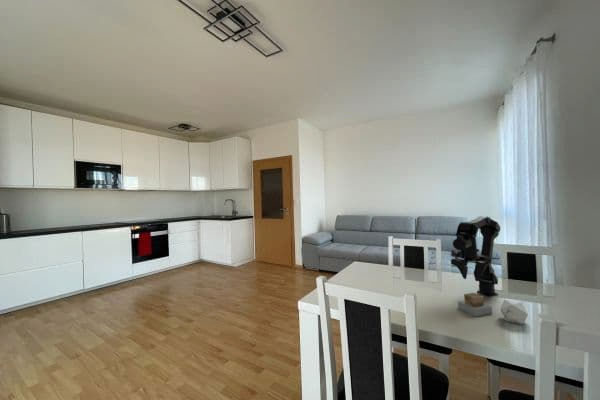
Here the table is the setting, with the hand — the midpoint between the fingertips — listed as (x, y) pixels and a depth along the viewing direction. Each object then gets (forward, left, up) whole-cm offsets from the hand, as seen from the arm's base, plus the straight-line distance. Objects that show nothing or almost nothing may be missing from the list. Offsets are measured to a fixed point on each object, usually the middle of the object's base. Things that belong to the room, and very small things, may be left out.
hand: (472, 277), depth 116 cm
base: (+8, +8, -12) cm, 16 cm away
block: (+8, +8, -9) cm, 14 cm away
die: (+2, +20, -12) cm, 23 cm away
